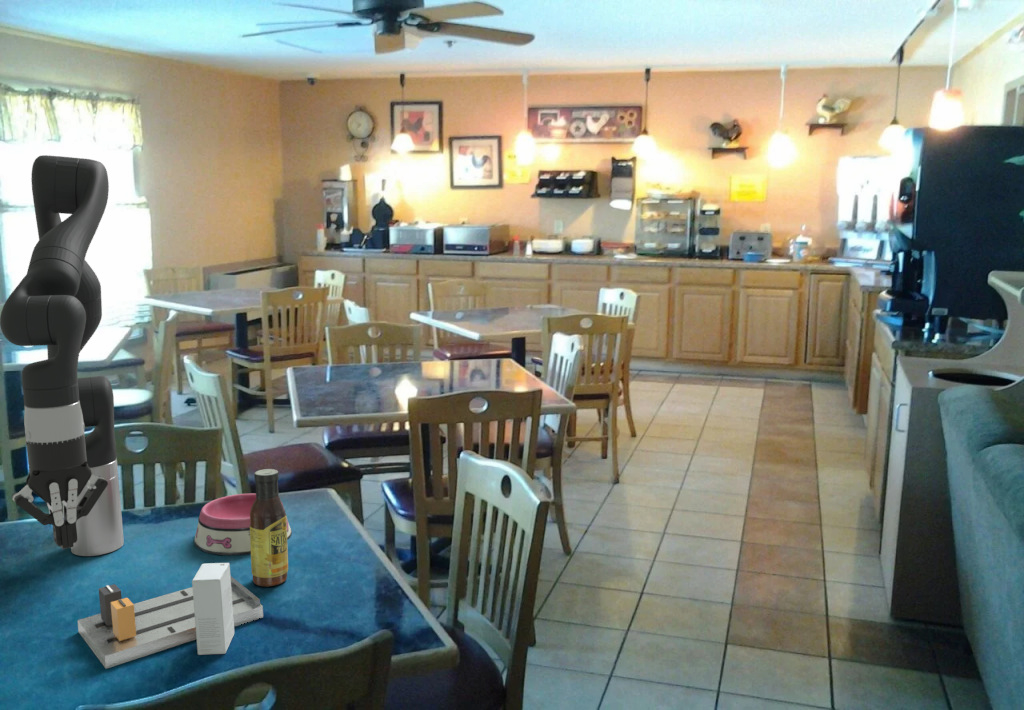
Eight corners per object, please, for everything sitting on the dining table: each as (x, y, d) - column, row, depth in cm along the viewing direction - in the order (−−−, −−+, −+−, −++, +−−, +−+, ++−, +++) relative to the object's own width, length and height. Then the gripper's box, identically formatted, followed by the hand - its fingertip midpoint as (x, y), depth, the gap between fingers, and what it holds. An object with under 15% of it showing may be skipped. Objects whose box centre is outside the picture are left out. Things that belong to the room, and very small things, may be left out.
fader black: (101, 618, 136) (98, 587, 135) (117, 613, 137) (114, 582, 136) (107, 625, 134) (104, 594, 133) (123, 621, 135) (120, 589, 134)
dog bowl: (261, 514, 187) (259, 483, 186) (309, 537, 174) (308, 505, 173) (177, 538, 174) (175, 505, 173) (223, 565, 161) (221, 530, 160)
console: (78, 632, 136) (76, 614, 136) (227, 587, 152) (226, 571, 151) (105, 668, 126) (104, 649, 125) (263, 617, 141) (262, 600, 141)
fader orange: (113, 633, 131) (110, 601, 130) (129, 628, 133) (127, 596, 132) (119, 641, 129) (116, 608, 128) (136, 635, 131) (133, 603, 130)
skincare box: (206, 635, 135) (201, 562, 133) (235, 634, 136) (230, 561, 134) (196, 656, 129) (190, 580, 127) (225, 654, 130) (221, 579, 128)
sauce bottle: (278, 590, 151) (273, 479, 147) (245, 586, 152) (239, 477, 148) (295, 574, 157) (290, 467, 154) (263, 571, 158) (257, 465, 155)
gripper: (96, 420, 133) (105, 528, 137) (-3, 436, 125) (10, 550, 128) (111, 430, 128) (121, 543, 131) (9, 447, 119) (22, 567, 122)
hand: (66, 546), depth 129 cm, fingers closed
